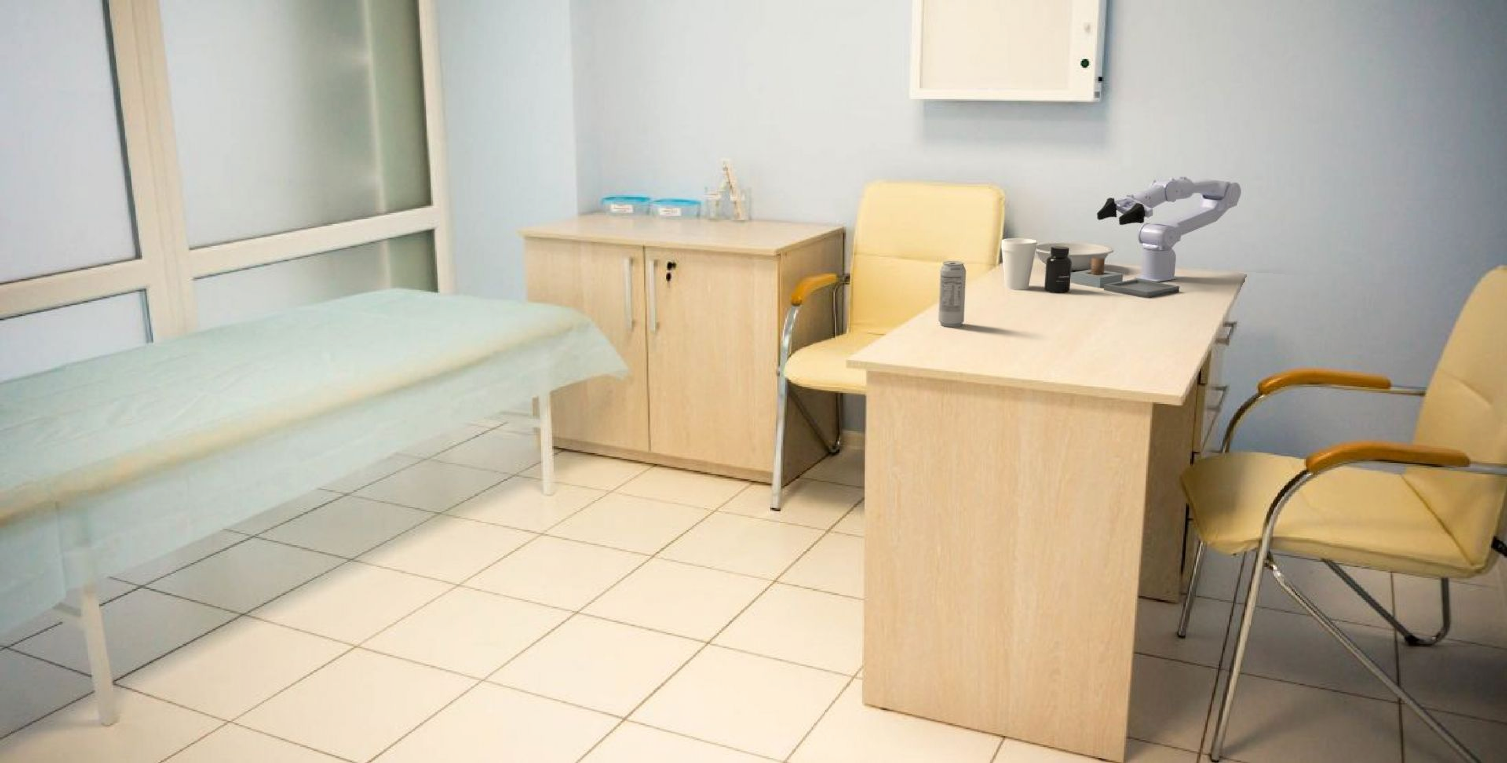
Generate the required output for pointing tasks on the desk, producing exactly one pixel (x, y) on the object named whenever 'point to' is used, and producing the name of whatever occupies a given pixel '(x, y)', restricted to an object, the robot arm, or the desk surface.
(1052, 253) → the supplement bottle
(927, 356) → the desk surface
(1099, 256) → the soup bowl
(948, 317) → the energy drink can
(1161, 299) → the desk surface
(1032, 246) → the foam cup
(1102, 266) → the dowel
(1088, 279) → the square hole block
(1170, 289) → the tray
